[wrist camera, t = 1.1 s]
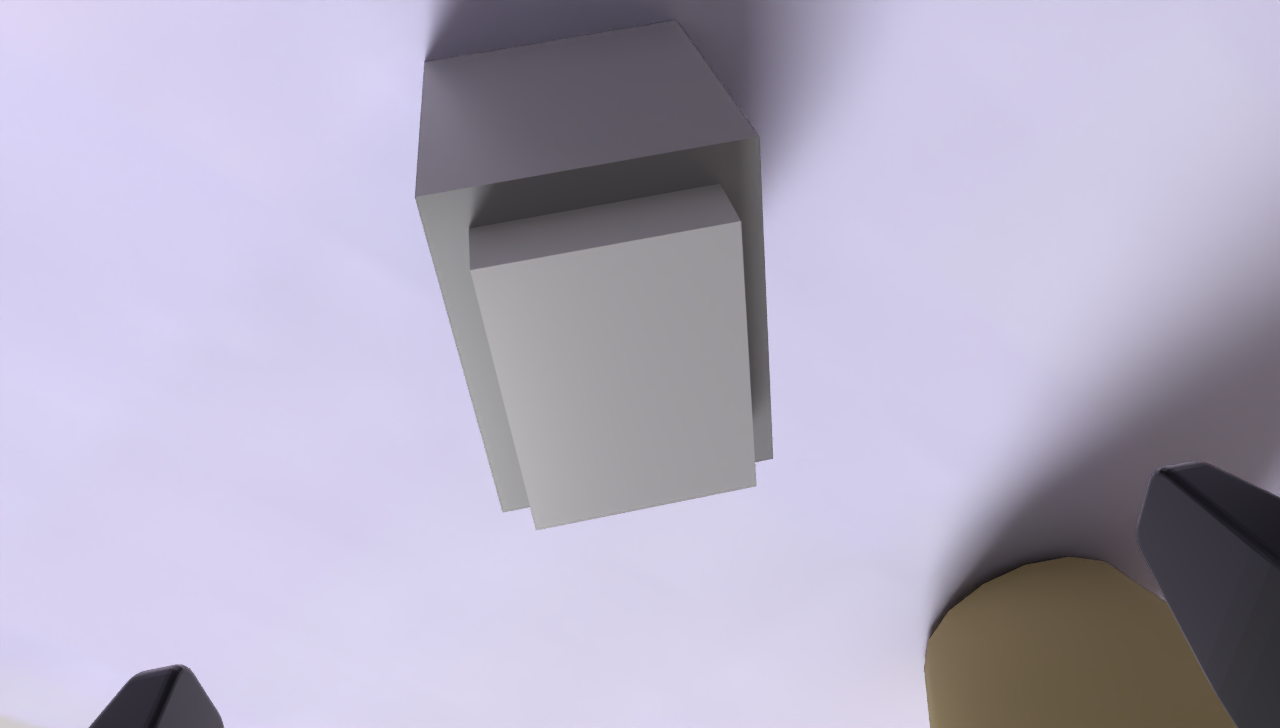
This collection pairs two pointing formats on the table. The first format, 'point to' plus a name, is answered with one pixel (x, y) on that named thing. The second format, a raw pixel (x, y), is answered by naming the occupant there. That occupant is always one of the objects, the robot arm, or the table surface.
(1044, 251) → the table surface
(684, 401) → the plug
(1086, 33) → the table surface
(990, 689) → the squeeze bottle
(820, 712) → the table surface
